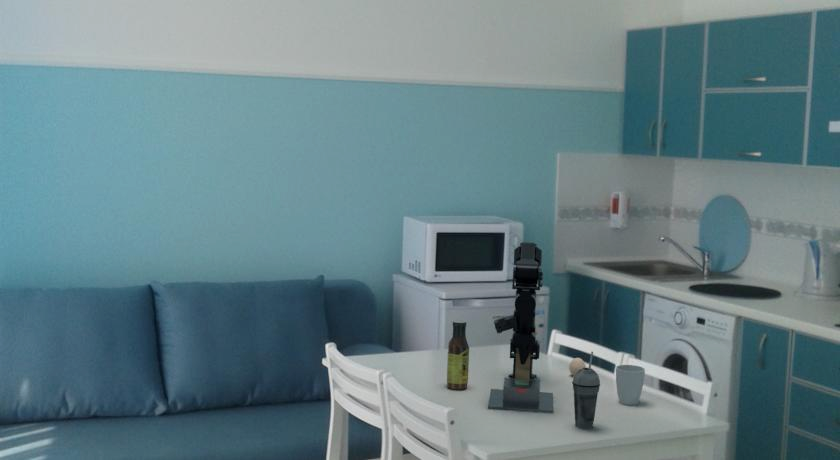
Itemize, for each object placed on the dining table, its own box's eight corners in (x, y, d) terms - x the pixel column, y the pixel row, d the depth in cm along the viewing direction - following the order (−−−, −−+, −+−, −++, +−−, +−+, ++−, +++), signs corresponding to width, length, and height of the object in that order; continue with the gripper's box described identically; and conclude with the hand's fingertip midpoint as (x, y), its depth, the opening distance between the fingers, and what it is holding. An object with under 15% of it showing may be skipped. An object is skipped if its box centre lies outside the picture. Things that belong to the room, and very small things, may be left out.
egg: (573, 378, 311) (574, 360, 311) (565, 374, 316) (566, 356, 315) (588, 377, 313) (589, 359, 312) (580, 373, 318) (581, 355, 317)
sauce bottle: (465, 391, 293) (468, 324, 291) (444, 389, 294) (447, 322, 292) (469, 385, 300) (471, 320, 297) (448, 384, 301) (450, 318, 299)
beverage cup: (567, 422, 267) (570, 348, 264) (594, 422, 267) (598, 348, 265) (573, 430, 259) (577, 354, 257) (601, 430, 260) (605, 355, 258)
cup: (644, 400, 290) (646, 366, 288) (641, 408, 282) (643, 373, 281) (616, 397, 292) (618, 363, 291) (612, 404, 285) (614, 369, 283)
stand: (490, 391, 294) (491, 373, 293) (552, 395, 292) (553, 377, 291) (487, 409, 276) (488, 389, 275) (553, 413, 274) (554, 393, 273)
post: (514, 382, 286) (516, 348, 284) (529, 383, 285) (530, 349, 284) (514, 386, 282) (515, 351, 280) (529, 387, 281) (530, 352, 280)
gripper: (497, 300, 291) (495, 353, 293) (494, 312, 273) (492, 369, 274) (536, 302, 290) (534, 355, 291) (536, 315, 271) (533, 371, 273)
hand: (522, 362), depth 283 cm, fingers closed on post, 4 cm apart
